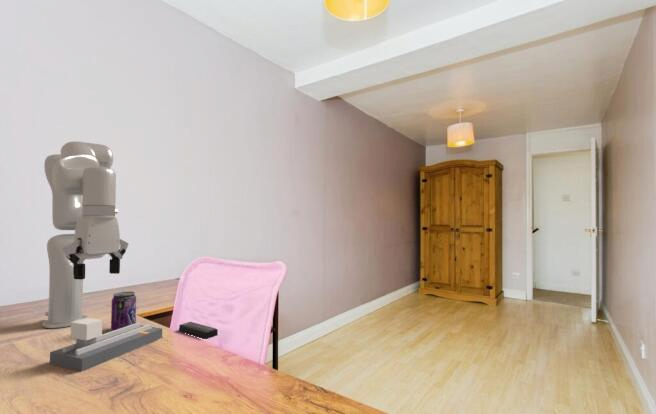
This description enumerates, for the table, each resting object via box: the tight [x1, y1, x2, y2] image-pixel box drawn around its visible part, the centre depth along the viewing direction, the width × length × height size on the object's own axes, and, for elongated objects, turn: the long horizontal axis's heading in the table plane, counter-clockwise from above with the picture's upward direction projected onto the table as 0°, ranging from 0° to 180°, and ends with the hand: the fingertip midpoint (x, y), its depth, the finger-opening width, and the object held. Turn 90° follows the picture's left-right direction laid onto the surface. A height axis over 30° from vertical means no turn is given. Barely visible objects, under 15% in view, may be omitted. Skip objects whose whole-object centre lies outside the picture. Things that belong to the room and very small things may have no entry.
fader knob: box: [70, 317, 103, 349], centre depth 88 cm, size 6×4×7 cm, turn 70°
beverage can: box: [110, 291, 137, 331], centre depth 112 cm, size 7×7×12 cm
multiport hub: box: [179, 321, 219, 340], centre depth 109 cm, size 4×14×2 cm, turn 56°
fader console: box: [49, 322, 163, 372], centre depth 95 cm, size 12×24×4 cm, turn 160°
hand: (97, 276), depth 90 cm, fingers open, 9 cm apart
